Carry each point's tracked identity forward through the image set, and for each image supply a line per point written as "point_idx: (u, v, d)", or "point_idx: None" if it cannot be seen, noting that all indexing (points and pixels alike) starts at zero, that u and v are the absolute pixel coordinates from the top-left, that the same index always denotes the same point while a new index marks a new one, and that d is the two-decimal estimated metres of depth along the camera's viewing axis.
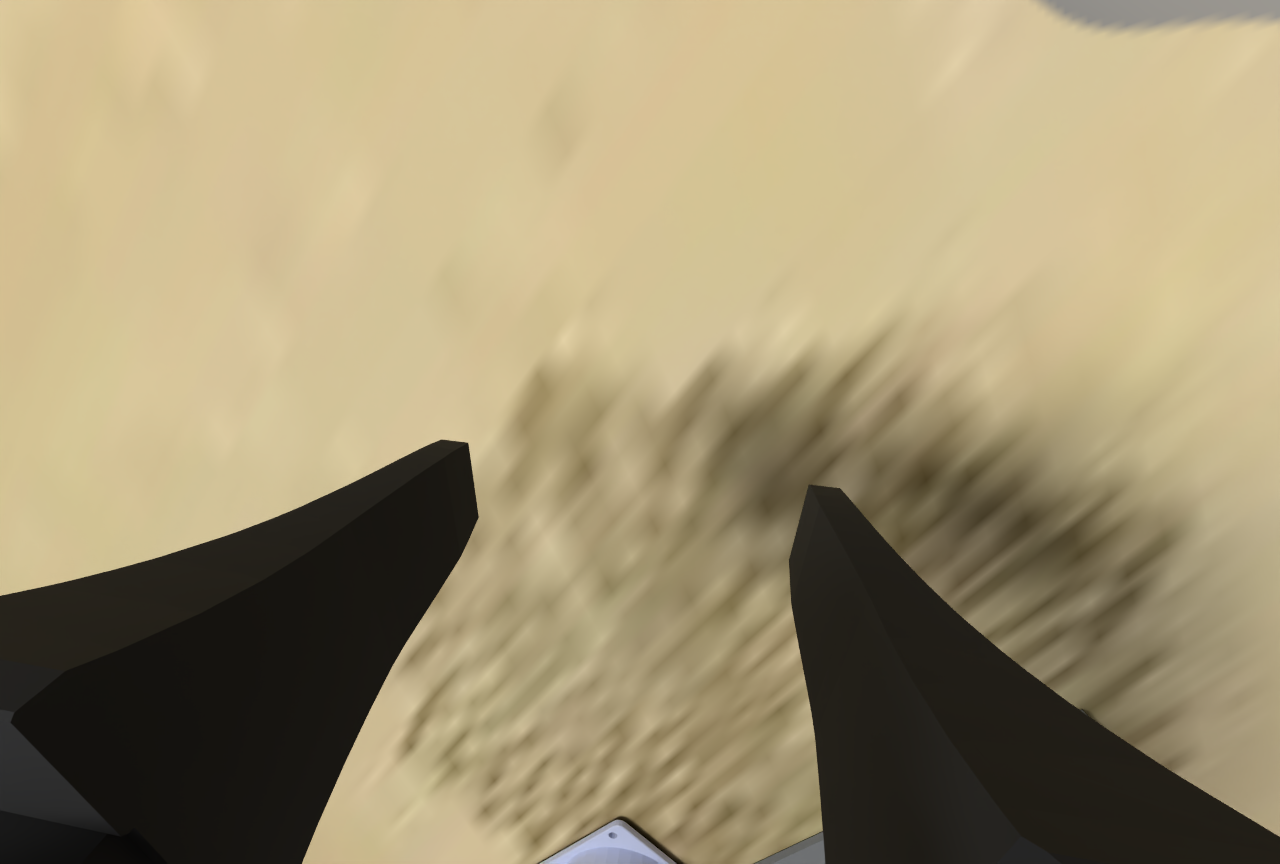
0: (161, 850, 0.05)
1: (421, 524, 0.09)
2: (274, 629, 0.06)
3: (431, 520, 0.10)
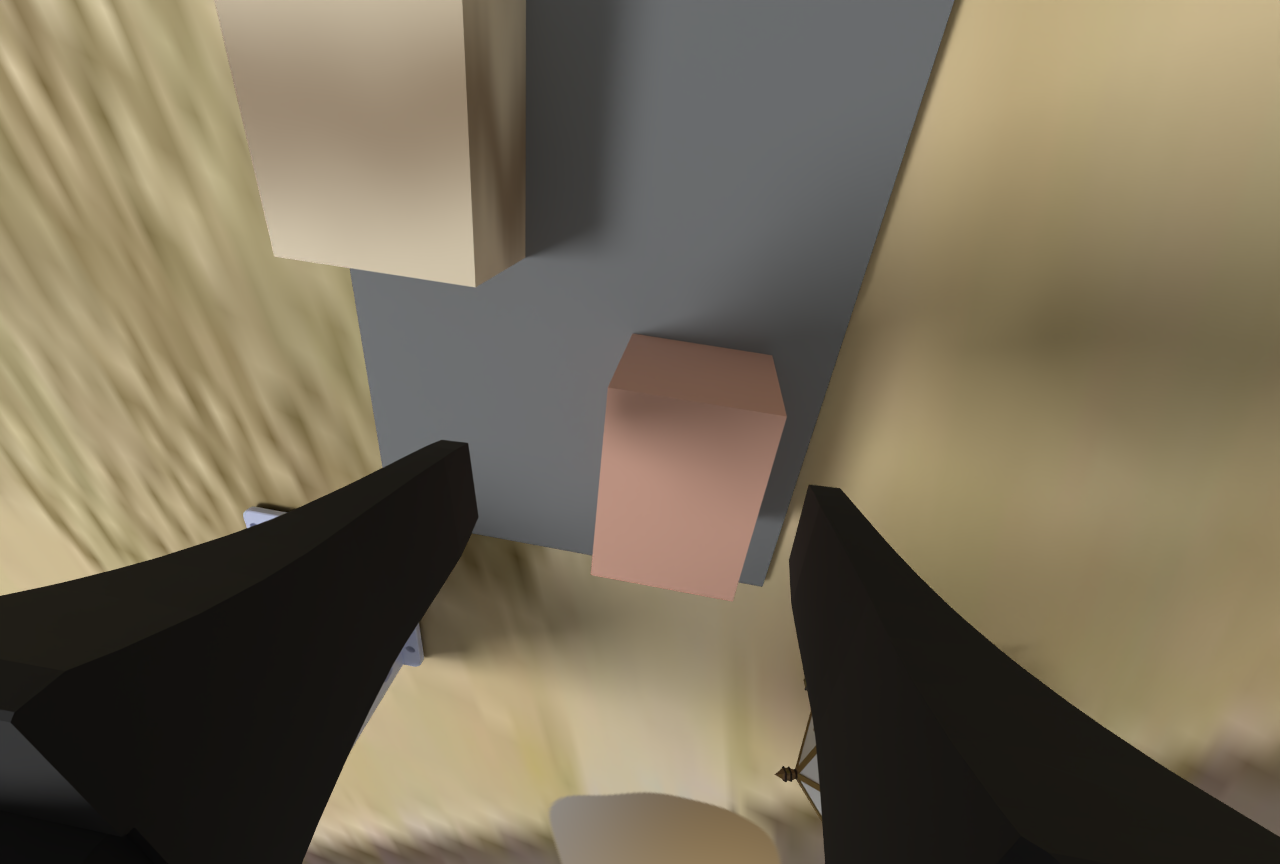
0: (161, 850, 0.05)
1: (421, 524, 0.09)
2: (274, 630, 0.06)
3: (431, 520, 0.10)
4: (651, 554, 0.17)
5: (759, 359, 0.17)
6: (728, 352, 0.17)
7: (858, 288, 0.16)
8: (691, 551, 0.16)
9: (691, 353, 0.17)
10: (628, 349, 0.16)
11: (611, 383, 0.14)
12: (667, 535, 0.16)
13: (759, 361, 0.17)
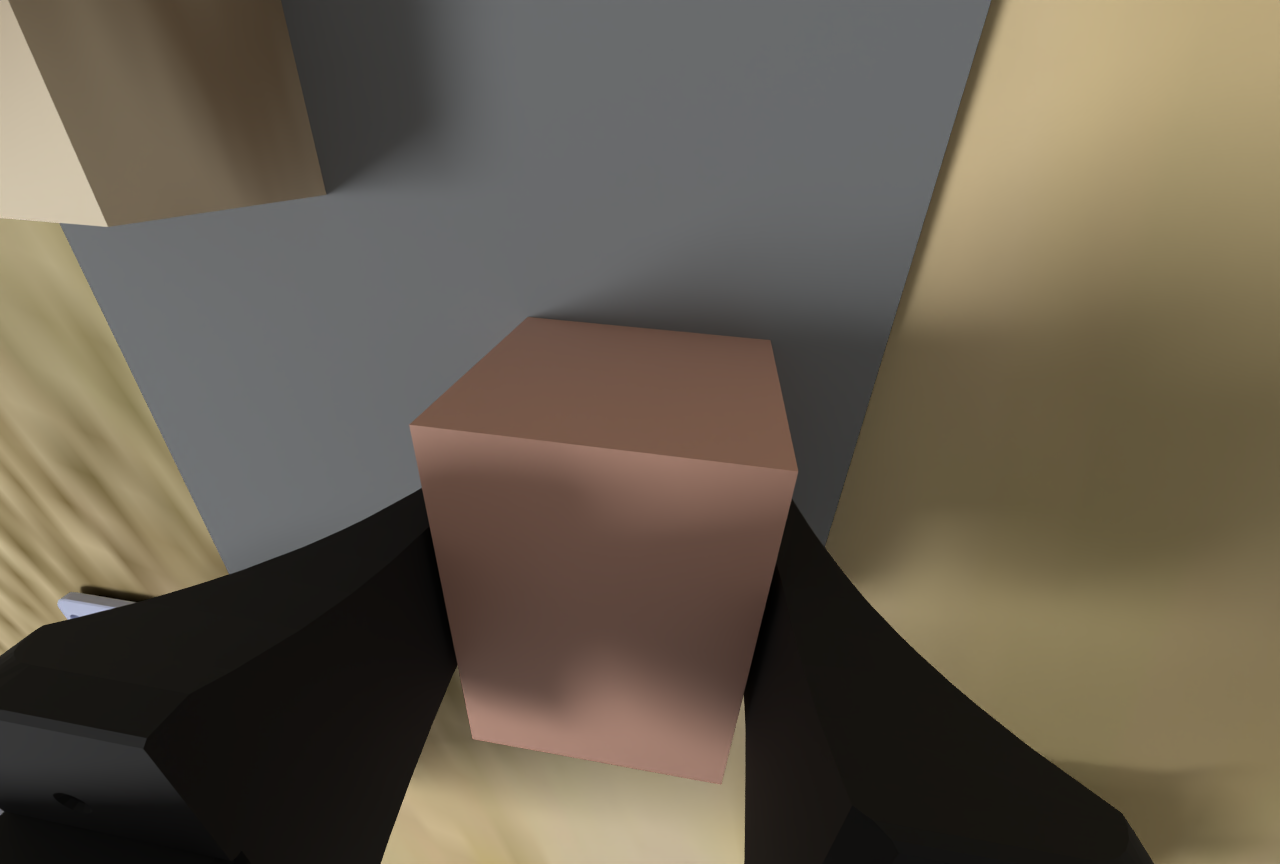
0: None
1: None
2: (359, 644, 0.06)
3: None
4: (566, 713, 0.09)
5: (747, 348, 0.09)
6: (692, 338, 0.10)
7: (927, 202, 0.09)
8: (636, 710, 0.09)
9: (622, 344, 0.09)
10: (503, 343, 0.09)
11: (424, 414, 0.07)
12: (588, 686, 0.09)
13: (746, 352, 0.09)
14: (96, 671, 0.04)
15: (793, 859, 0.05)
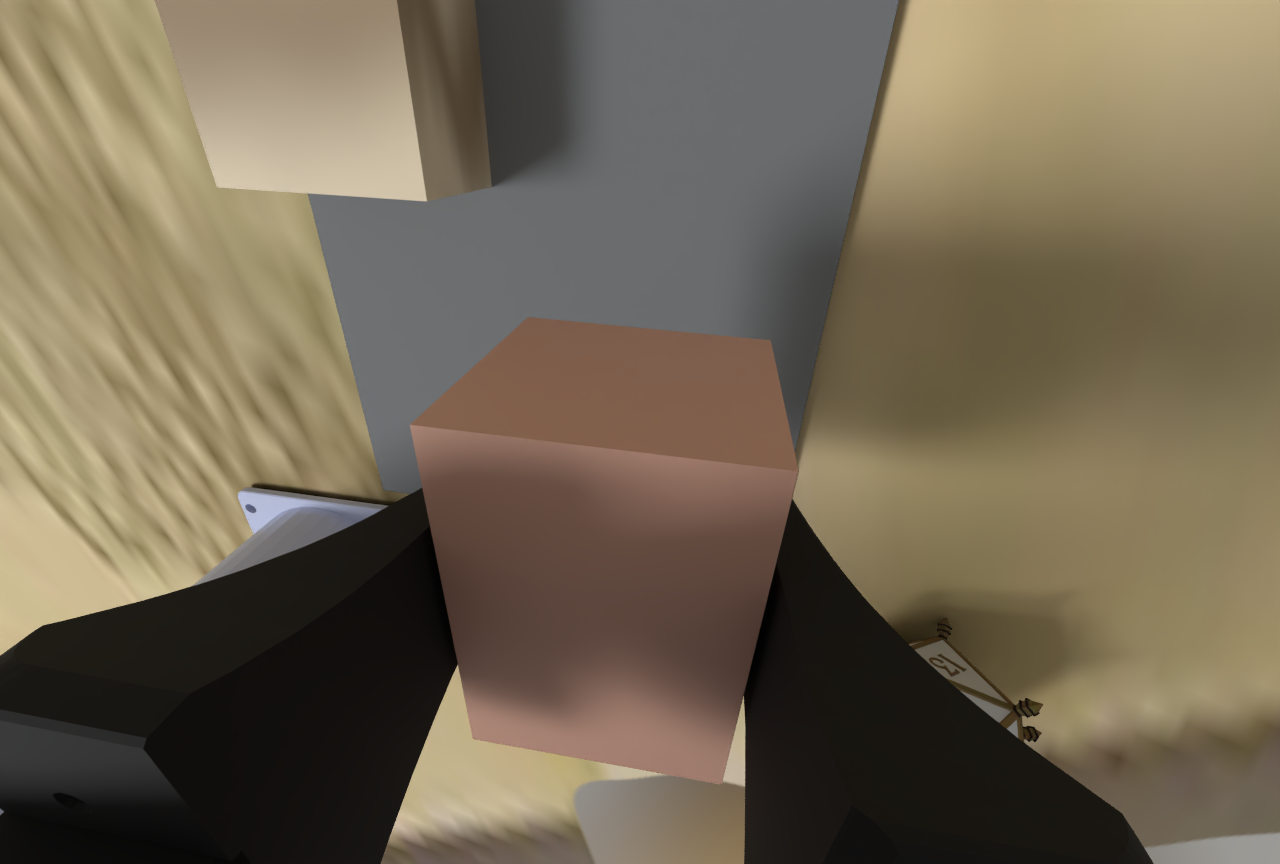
0: None
1: None
2: (359, 644, 0.06)
3: None
4: (567, 713, 0.09)
5: (747, 349, 0.09)
6: (692, 338, 0.10)
7: (854, 188, 0.15)
8: (637, 711, 0.09)
9: (622, 344, 0.09)
10: (504, 344, 0.09)
11: (424, 415, 0.07)
12: (588, 686, 0.09)
13: (746, 353, 0.09)
14: (97, 671, 0.04)
15: (793, 858, 0.05)
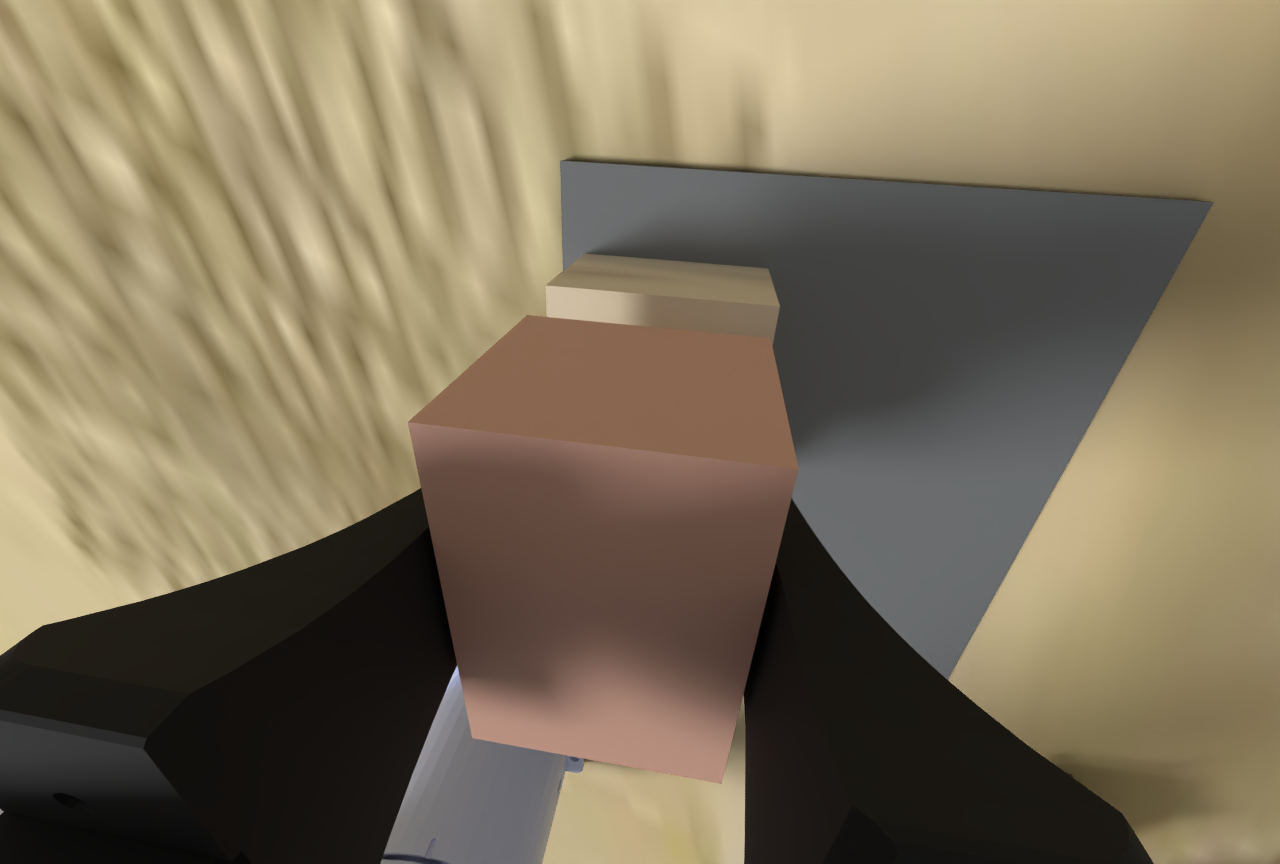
0: None
1: None
2: (359, 644, 0.06)
3: None
4: (566, 712, 0.09)
5: (747, 346, 0.09)
6: (691, 337, 0.10)
7: (1051, 486, 0.18)
8: (637, 709, 0.09)
9: (622, 342, 0.09)
10: (503, 341, 0.09)
11: (423, 412, 0.07)
12: (587, 685, 0.09)
13: (746, 351, 0.09)
14: (94, 673, 0.04)
15: (793, 858, 0.05)
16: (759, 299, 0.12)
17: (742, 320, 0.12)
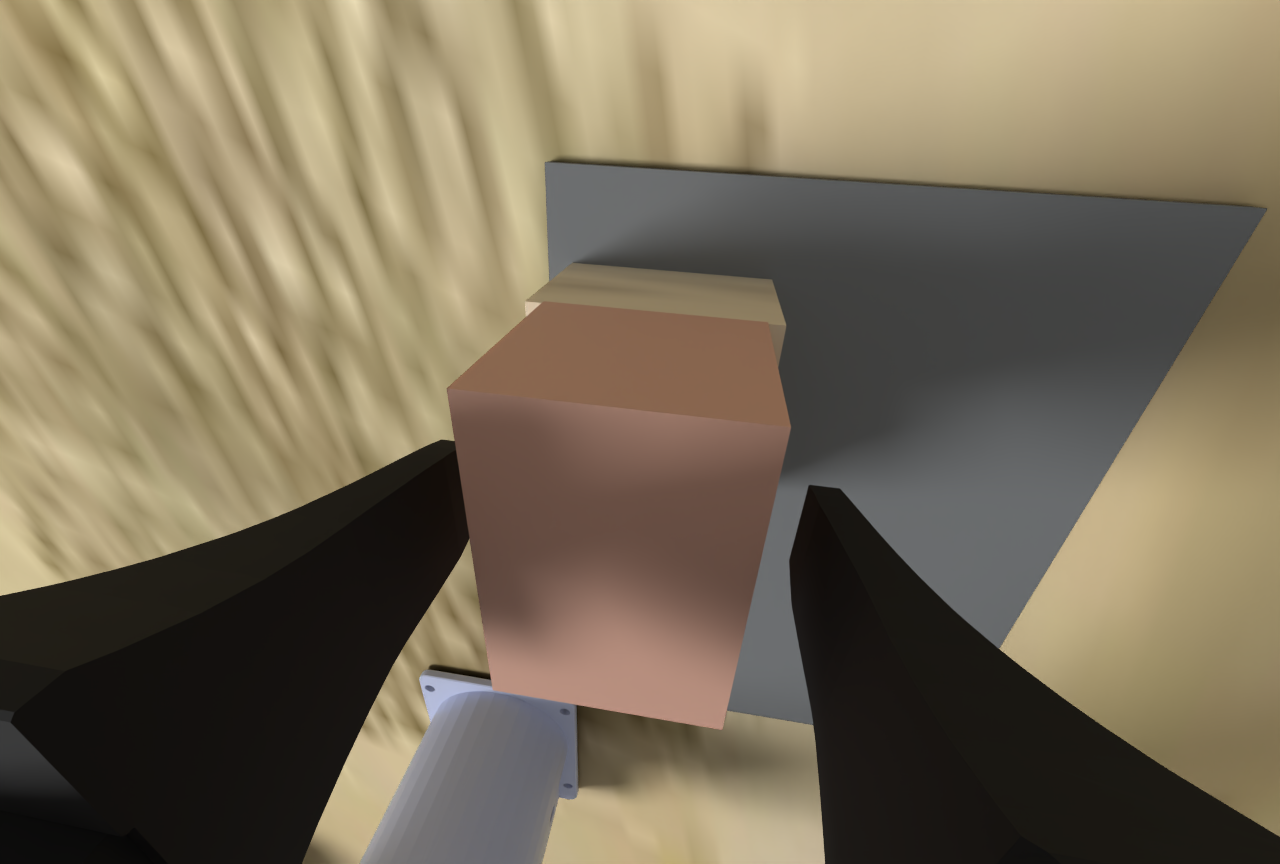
0: (161, 850, 0.05)
1: (421, 524, 0.09)
2: (275, 629, 0.06)
3: (431, 520, 0.10)
4: (581, 662, 0.10)
5: (746, 329, 0.10)
6: (695, 320, 0.11)
7: (1077, 512, 0.16)
8: (645, 658, 0.10)
9: (631, 324, 0.10)
10: (523, 323, 0.10)
11: (459, 380, 0.08)
12: (601, 635, 0.09)
13: (746, 332, 0.10)
14: None
15: None
16: (763, 317, 0.11)
17: None
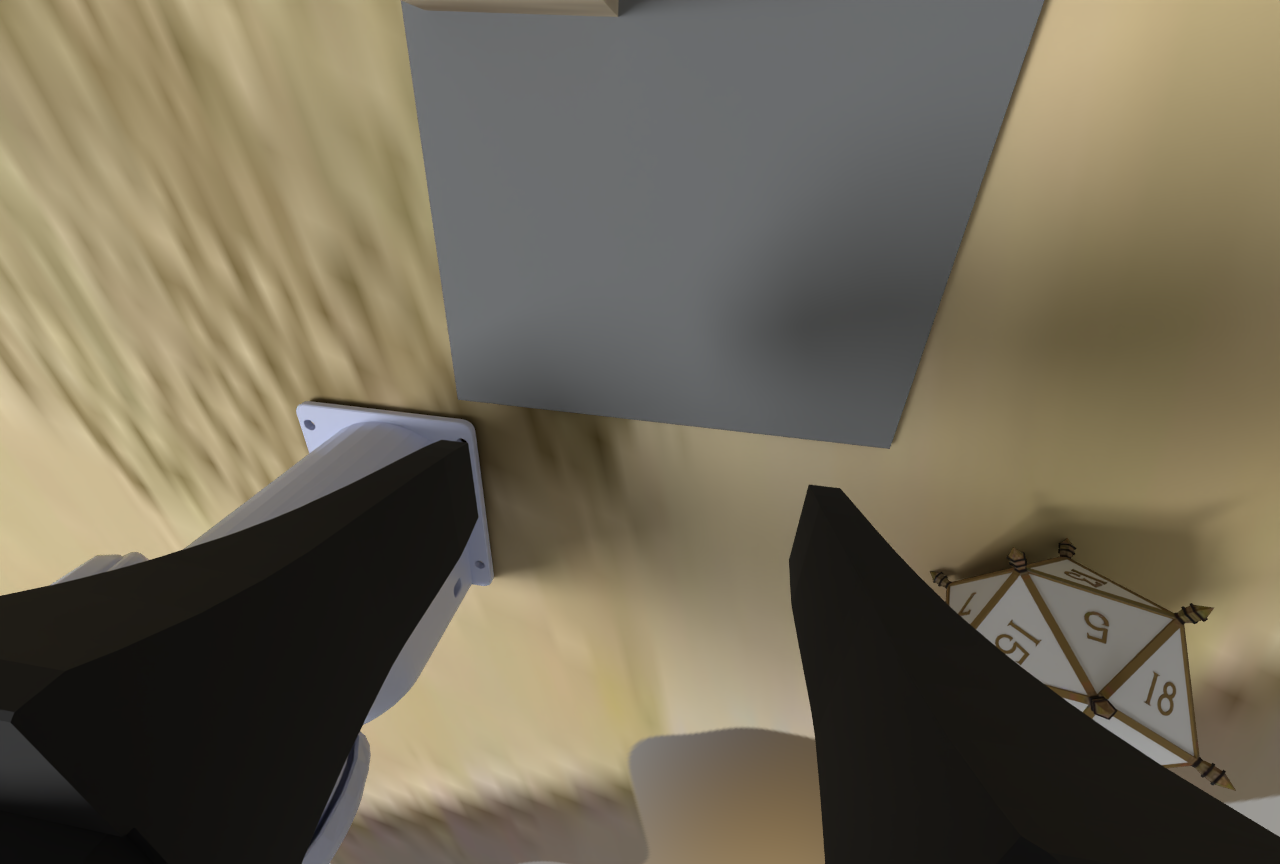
0: (161, 850, 0.05)
1: (421, 524, 0.09)
2: (274, 630, 0.06)
3: (431, 520, 0.10)
4: None
5: None
6: None
7: (1040, 4, 0.13)
8: None
9: None
10: None
11: None
12: None
13: None
14: None
15: None
16: None
17: None
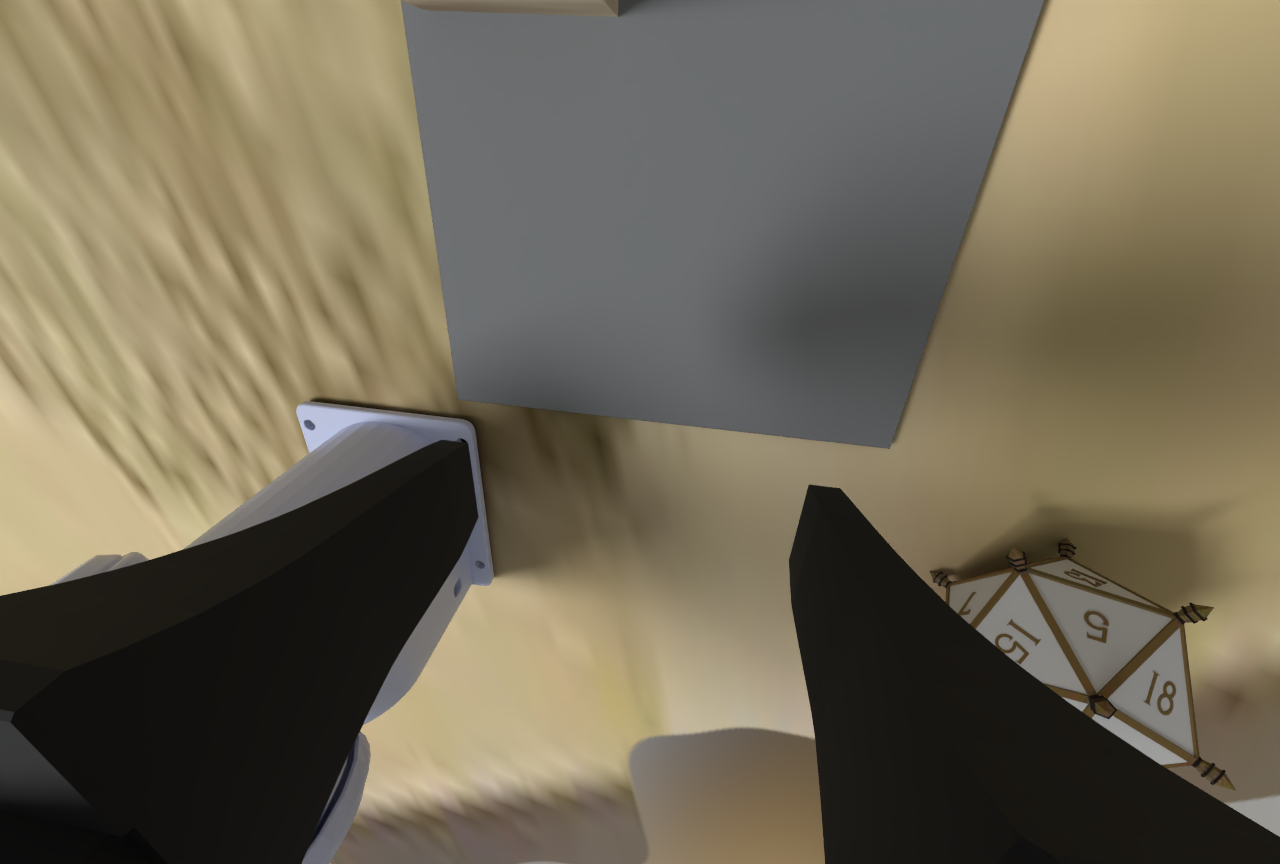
0: (161, 850, 0.05)
1: (421, 524, 0.09)
2: (274, 630, 0.06)
3: (431, 520, 0.10)
4: None
5: None
6: None
7: (1040, 4, 0.13)
8: None
9: None
10: None
11: None
12: None
13: None
14: None
15: None
16: None
17: None
